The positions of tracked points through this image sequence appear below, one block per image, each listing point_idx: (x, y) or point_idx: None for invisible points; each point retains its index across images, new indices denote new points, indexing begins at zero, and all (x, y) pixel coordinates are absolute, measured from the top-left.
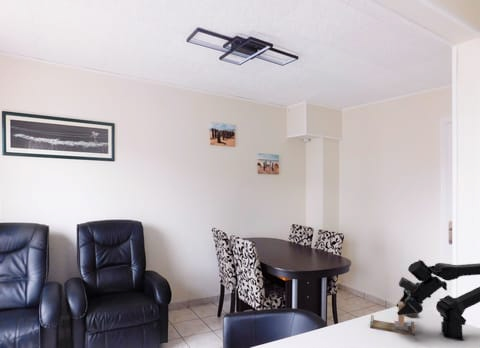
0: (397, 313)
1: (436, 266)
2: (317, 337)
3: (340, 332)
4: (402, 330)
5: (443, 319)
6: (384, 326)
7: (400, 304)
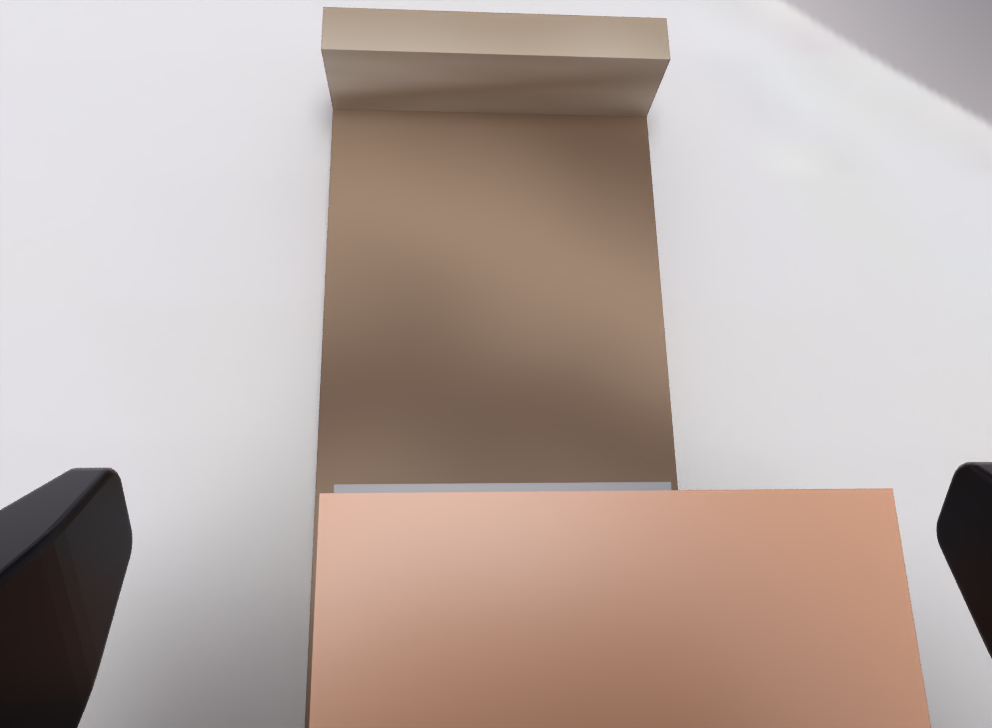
0: (80, 485)
1: None
2: None
3: None
4: None
5: None
6: (406, 300)
7: (350, 604)
